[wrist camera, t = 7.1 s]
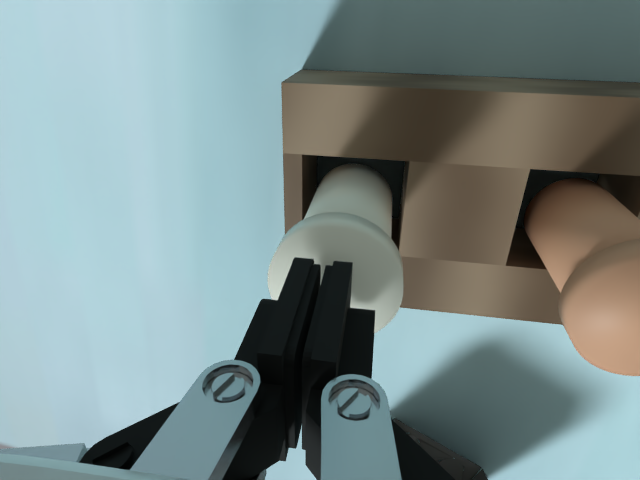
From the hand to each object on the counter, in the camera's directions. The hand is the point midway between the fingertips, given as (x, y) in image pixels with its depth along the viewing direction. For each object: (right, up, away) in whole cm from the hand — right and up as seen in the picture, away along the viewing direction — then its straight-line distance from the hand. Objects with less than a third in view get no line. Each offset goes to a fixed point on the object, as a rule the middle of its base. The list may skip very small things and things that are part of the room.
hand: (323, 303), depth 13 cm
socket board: (+11, +4, +9) cm, 14 cm away
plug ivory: (+1, +4, +7) cm, 8 cm away
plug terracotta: (+10, +3, +6) cm, 12 cm away
